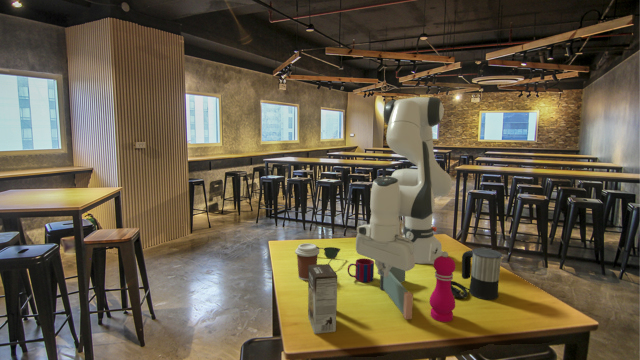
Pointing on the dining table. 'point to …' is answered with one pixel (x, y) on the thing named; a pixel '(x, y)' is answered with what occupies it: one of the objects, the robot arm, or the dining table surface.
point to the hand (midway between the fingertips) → (383, 275)
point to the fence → (397, 274)
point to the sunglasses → (330, 252)
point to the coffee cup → (306, 258)
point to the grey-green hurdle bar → (399, 295)
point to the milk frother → (480, 274)
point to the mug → (363, 270)
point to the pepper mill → (443, 289)
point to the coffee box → (322, 298)
